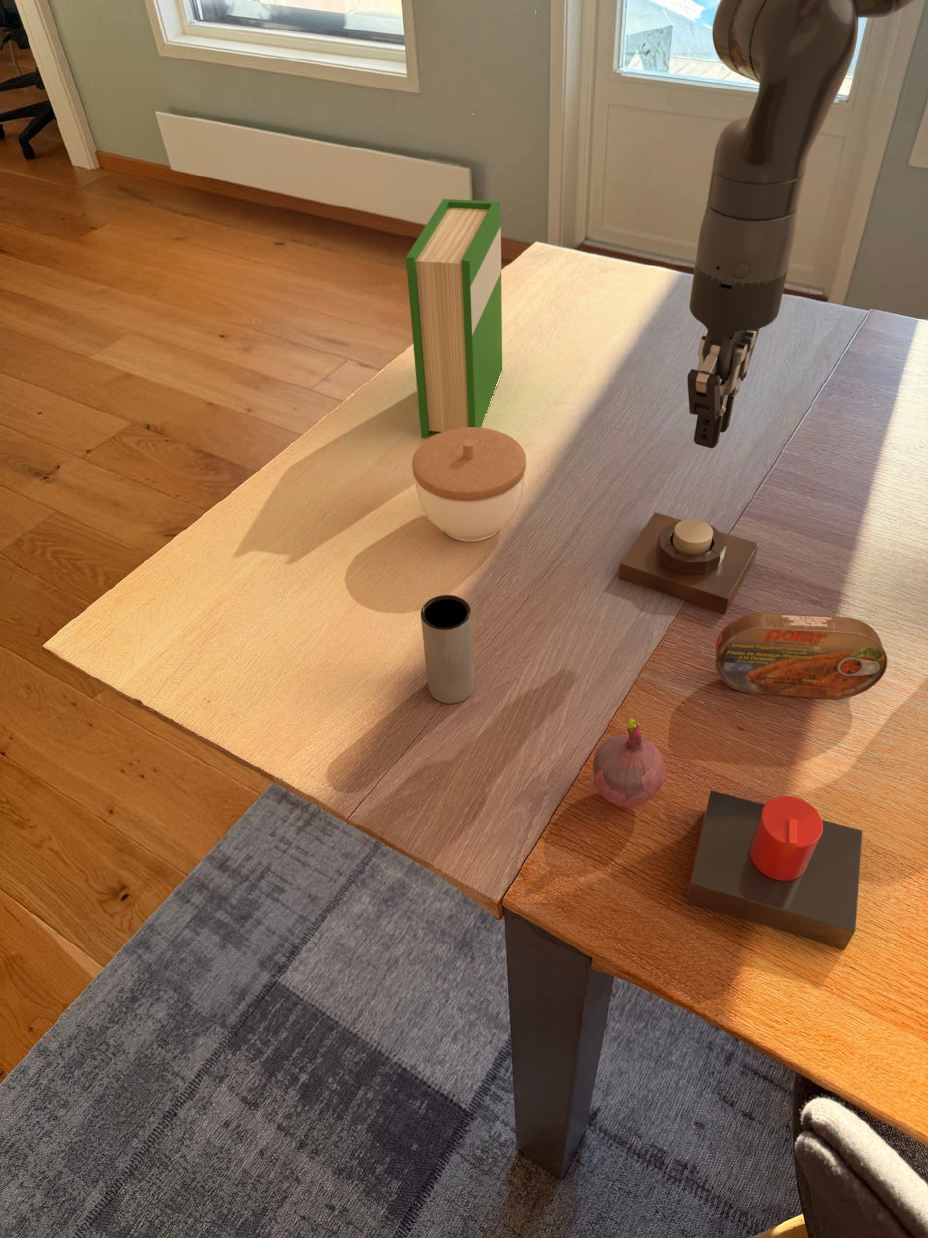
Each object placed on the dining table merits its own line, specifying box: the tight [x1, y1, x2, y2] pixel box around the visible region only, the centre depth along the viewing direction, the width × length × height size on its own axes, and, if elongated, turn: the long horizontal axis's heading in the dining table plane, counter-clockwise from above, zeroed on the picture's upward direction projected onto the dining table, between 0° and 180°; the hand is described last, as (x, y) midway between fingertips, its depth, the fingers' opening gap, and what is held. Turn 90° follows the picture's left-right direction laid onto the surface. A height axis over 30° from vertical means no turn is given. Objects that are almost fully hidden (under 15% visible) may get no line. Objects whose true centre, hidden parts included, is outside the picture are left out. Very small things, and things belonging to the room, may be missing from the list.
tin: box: [715, 612, 888, 700], centre depth 84 cm, size 15×3×8 cm, turn 82°
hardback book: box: [405, 198, 503, 438], centre depth 117 cm, size 18×7×24 cm, turn 167°
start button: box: [673, 518, 713, 555], centre depth 96 cm, size 4×4×2 cm
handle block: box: [685, 789, 864, 951], centre depth 72 cm, size 12×9×3 cm
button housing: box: [617, 512, 759, 615], centre depth 98 cm, size 12×10×4 cm
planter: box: [420, 594, 475, 705], centre depth 85 cm, size 4×4×10 cm
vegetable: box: [592, 718, 666, 808], centre depth 75 cm, size 6×6×10 cm
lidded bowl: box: [411, 427, 527, 543], centre depth 103 cm, size 13×13×11 cm
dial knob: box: [750, 795, 823, 881], centre depth 69 cm, size 4×4×5 cm
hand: (710, 435), depth 87 cm, fingers closed
